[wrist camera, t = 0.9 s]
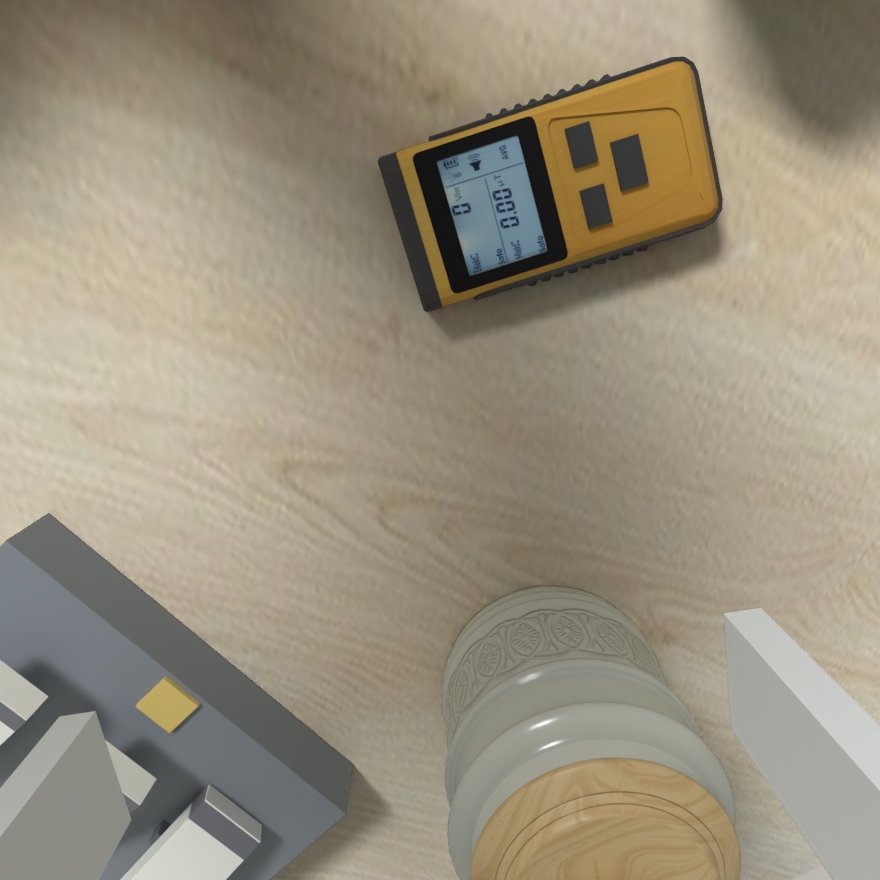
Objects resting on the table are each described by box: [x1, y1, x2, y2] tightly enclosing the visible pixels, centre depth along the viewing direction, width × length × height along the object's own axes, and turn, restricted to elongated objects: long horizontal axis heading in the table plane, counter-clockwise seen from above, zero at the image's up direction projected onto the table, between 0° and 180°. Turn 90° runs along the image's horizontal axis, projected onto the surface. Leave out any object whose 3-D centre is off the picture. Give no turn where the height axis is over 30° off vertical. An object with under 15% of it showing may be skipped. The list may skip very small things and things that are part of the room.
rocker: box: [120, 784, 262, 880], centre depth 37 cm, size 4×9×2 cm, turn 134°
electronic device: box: [378, 57, 723, 312], centre depth 33 cm, size 8×16×3 cm, turn 107°
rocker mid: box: [105, 740, 156, 813], centre depth 36 cm, size 4×9×2 cm, turn 134°
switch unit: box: [0, 513, 353, 880], centre depth 39 cm, size 24×16×5 cm, turn 44°
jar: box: [442, 586, 741, 880], centre depth 33 cm, size 13×13×18 cm
